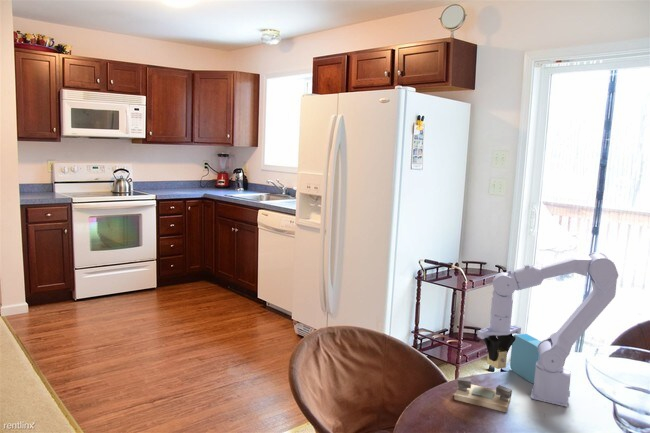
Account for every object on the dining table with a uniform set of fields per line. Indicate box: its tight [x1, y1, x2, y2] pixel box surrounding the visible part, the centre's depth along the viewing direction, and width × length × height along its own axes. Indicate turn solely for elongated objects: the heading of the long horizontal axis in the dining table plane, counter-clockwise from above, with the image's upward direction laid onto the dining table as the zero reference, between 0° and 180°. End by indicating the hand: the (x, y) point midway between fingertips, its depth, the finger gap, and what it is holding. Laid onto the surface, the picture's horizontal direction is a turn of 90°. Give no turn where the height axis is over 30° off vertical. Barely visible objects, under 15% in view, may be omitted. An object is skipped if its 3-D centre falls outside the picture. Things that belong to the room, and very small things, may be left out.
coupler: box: [486, 347, 508, 370], centre depth 149 cm, size 5×3×5 cm, turn 24°
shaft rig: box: [453, 376, 513, 413], centre depth 143 cm, size 15×9×4 cm, turn 64°
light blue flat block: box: [509, 333, 542, 385], centre depth 158 cm, size 12×4×12 cm, turn 18°
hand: (497, 359), depth 149 cm, fingers closed on coupler, 3 cm apart
